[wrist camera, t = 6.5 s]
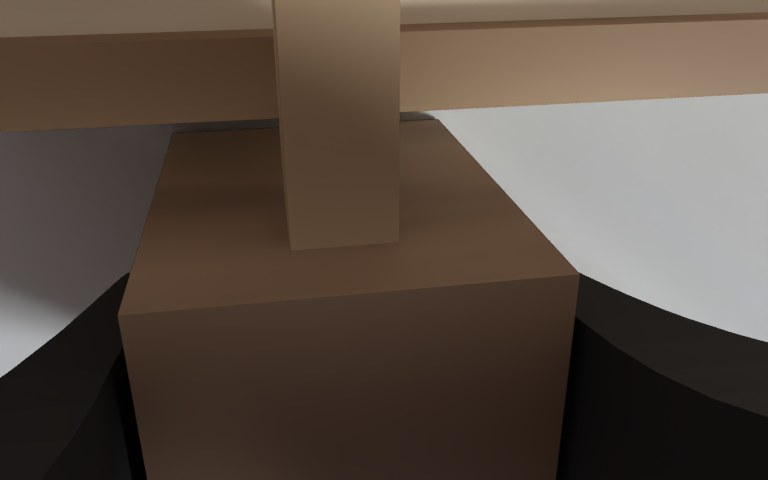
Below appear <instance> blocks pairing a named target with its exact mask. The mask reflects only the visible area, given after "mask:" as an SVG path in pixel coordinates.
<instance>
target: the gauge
mask: <svg viewBox="0 0 768 480" xmlns="http://www.w3.org/2000/svg"><path fill="white" fill-rule="evenodd" d="M271 5H272V20H273V35H274V50H275V65H276V80H277V95H278V110H279V125H280V128H264V129H245V130H226V131H207V132H188V133H173V134H172V137H171V140H170V144H169V147H168V150H167V154H166V157H165V160H164V164H163V167H162V170H161V173H160V177H159V180H158V183H157V187H156V190H155V193H154V197H153V200H152V203H151V207H150V210H149V213H148V216H147V220H146V223H145V226H144V230H143V233H142V236H141V240H140V243H139V246H138V250H137V253H136V256H135V260H134V263H133V266H132V269H131V273H130V276H129V279H128V283H127V286H126V289H125V293H124V296H123V299H122V303H121V306H120V309H119V312H118V321H119V326H120V332H121V337H122V343H123V348H124V354H125V359H126V365H127V371H128V376H129V382H130V387H131V393H132V398H133V404H134V409H135V415H136V420H137V426H138V432H139V437H140V443H141V448H142V454H143V459H144V465H145V470H146V476H147V480H556V473H557V464H558V456H559V447H560V439H561V431H562V422H563V414H564V405H565V397H566V388H567V380H568V371H569V363H570V354H571V346H572V338H573V329H574V321H575V312H576V304H577V295H578V287H579V278H580V274H579V273H578V272H577V270H576V269H575V268H574V267H573V266H572V265H571V264H570V263H569V262H568V261H567V259H566V258H565V257H564V256H563V255H562V254H561V253H560V252H559V251H558V250H557V249H556V247H555V246H554V245H553V244H552V243H551V242H550V241H549V240H548V239H547V238H546V237H545V235H544V234H543V233H542V232H541V231H540V230H539V229H538V228H537V227H536V226H535V224H534V223H533V222H532V221H531V220H530V219H529V218H528V217H527V216H526V215H525V214H524V212H523V211H522V210H521V209H520V208H519V207H518V206H517V205H516V204H515V203H514V202H513V200H512V199H511V198H510V197H509V196H508V195H507V194H506V193H505V192H504V191H503V190H502V188H501V187H500V186H499V185H498V184H497V183H496V182H495V181H494V180H493V179H492V177H491V176H490V175H489V174H488V173H487V172H486V171H485V170H484V169H483V168H482V167H481V165H480V164H479V163H478V162H477V161H476V160H475V159H474V158H473V157H472V156H471V155H470V153H469V152H468V151H467V150H466V149H465V148H464V147H463V146H462V145H461V144H460V143H459V141H458V140H457V139H456V138H455V137H454V136H453V135H452V134H451V133H450V132H449V130H448V129H447V128H446V127H445V126H444V125H443V124H442V123H441V122H440V121H439V120H438V119H434V120H415V121H400V0H271Z"/></svg>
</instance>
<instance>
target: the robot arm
mask: <svg viewBox="0 0 768 480" xmlns="http://www.w3.org/2000/svg"><path fill="white" fill-rule="evenodd" d="M578 273H579V272H578ZM579 274H580V278H579V287H578V295H577V304H576V312H575V321H574V329H573V338H572V346H571V354H570V363H569V371H568V380H567V388H566V397H565V405H564V414H563V422H562V431H561V439H560V447H559V456H558V464H557V473H556V480H768V342H764V341H760V340H757V339H753V338H749V337H746V336H742V335H738V334H735V333H731V332H728V331H725V330H722V329H719V328H716V327H713V326H710V325H707V324H703V323H700V322H697V321H694V320H691V319H688V318H685V317H682V316H680V315H677V314H674V313H671V312H669V311H666V310H663V309H661V308H659V307H656V306H654V305H651V304H649V303H646V302H644V301H641V300H639V299H637V298H634V297H632V296H629V295H627V294H625V293H622V292H620V291H618V290H616V289H613V288H611V287H609V286H607V285H605V284H602V283H600V282H598V281H596V280H594V279H592V278H590V277H587V276H585V275H583V274H581V273H579ZM129 276H130V273H127V274H126V275H124V276H123V277H122V278H120V279H119V280H118V281H117V282H116V283H115V284H113V285H112V286H111V287H110V288H109V289H108V290H107V291H106V292H105V293H103V294H102V295H101V296H100V297H99V298H98V299H97V300H96V301H95V302H94V303H92V304H91V305H90V306H89V307H88V308H87V309H86V310H85V311H83V312H82V313H81V314H80V315H79V316H78V317H77V318H75V319H74V320H73V321H72V322H71V323H70V324H69V325H67V326H66V327H65V328H64V329H63V330H62V331H61V332H59V333H58V334H57V335H56V336H54V337H53V338H52V339H50V340H49V341H48V342H47V343H45V344H44V345H43V346H42V347H40V348H39V349H38V350H36V351H35V352H34V353H33V354H31V355H30V356H29V357H27V358H26V359H25V360H24V361H22V362H21V363H20V364H18V365H17V366H16V367H15V368H13V369H12V370H11V371H9V372H8V373H6V374H5V375H4V376H2V377H1V378H0V480H147V476H146V470H145V465H144V459H143V454H142V448H141V443H140V437H139V432H138V426H137V420H136V415H135V409H134V404H133V398H132V393H131V387H130V382H129V376H128V371H127V365H126V359H125V354H124V348H123V343H122V337H121V332H120V326H119V321H118V312H119V309H120V306H121V303H122V299H123V296H124V293H125V289H126V286H127V283H128V279H129Z"/></svg>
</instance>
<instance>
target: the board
mask: <svg viewBox="0 0 768 480" xmlns="http://www.w3.org/2000/svg"><path fill="white" fill-rule="evenodd" d="M760 93H768V0H400V112H410V111H430V110H449V109H469V108H488V107H507V106H527V105H546V104H566V103H585V102H605V101H624V100H643V99H663V98H682V97H702V96H721V95H741V94H760ZM274 118H279V110H278V95H277V80H276V65H275V50H274V35H273V20H272V5H271V0H0V133H2V132H21V131H41V130H60V129H80V128H99V127H119V126H138V125H157V124H177V123H196V122H216V121H235V120H255V119H274Z"/></svg>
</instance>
